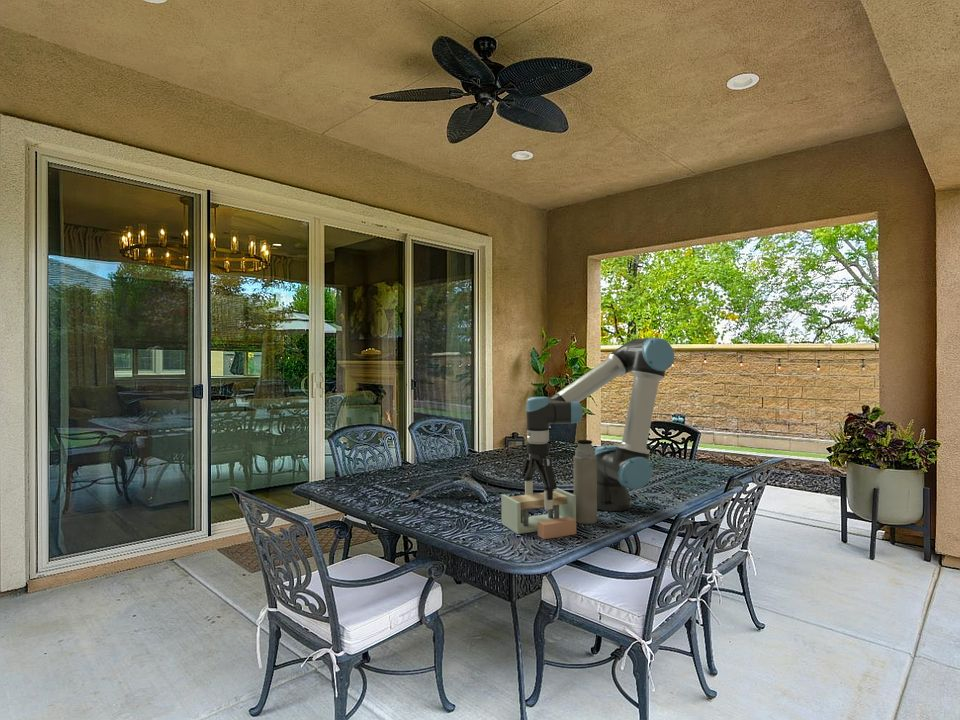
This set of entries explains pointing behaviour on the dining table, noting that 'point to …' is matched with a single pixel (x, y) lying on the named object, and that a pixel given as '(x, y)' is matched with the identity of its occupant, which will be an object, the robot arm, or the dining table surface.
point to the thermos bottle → (585, 482)
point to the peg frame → (524, 524)
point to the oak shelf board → (538, 500)
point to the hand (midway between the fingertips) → (538, 504)
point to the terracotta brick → (556, 527)
